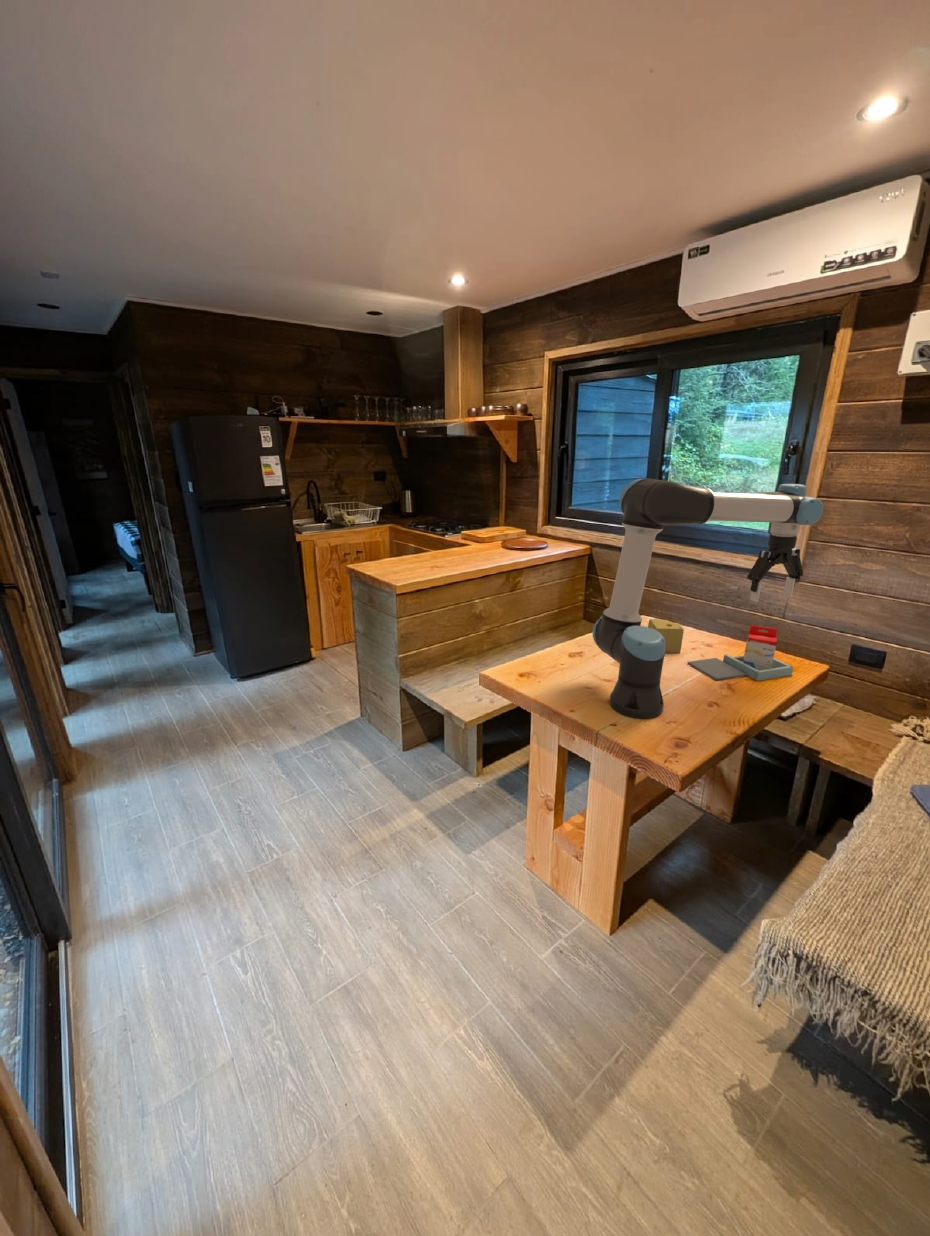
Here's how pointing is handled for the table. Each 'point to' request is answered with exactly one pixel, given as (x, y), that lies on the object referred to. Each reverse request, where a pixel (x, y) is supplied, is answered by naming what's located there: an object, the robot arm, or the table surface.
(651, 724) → the table surface
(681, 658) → the table surface
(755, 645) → the ink box
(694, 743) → the table surface
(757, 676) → the open picture frame
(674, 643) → the cheese
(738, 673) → the slate pad
